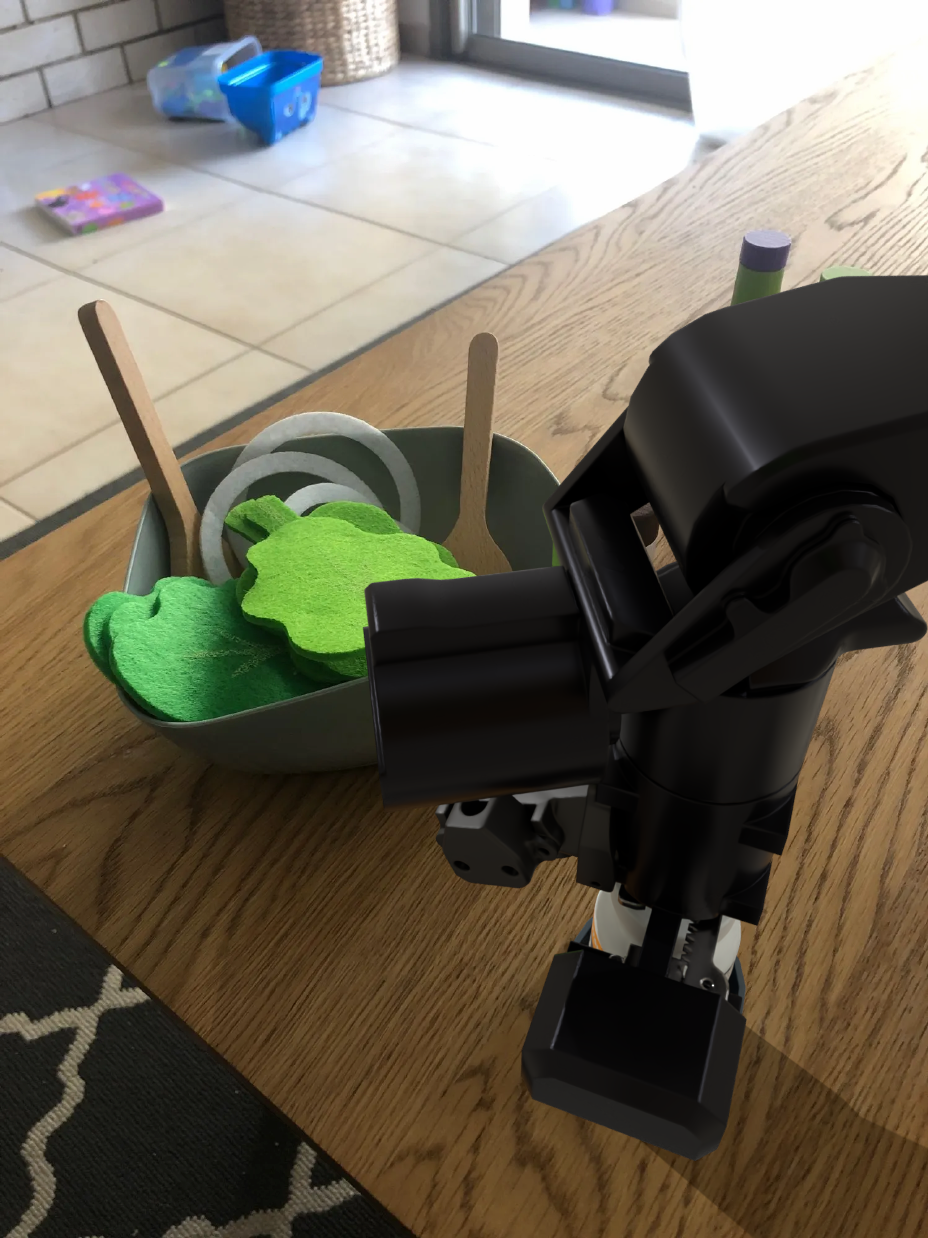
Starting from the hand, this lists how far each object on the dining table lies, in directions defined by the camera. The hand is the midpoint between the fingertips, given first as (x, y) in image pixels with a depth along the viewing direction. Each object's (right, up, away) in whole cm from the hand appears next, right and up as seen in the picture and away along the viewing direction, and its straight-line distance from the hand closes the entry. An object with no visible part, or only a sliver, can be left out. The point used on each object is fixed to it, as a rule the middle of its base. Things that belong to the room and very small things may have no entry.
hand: (657, 971), depth 42 cm
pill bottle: (0, -2, +2) cm, 3 cm away
